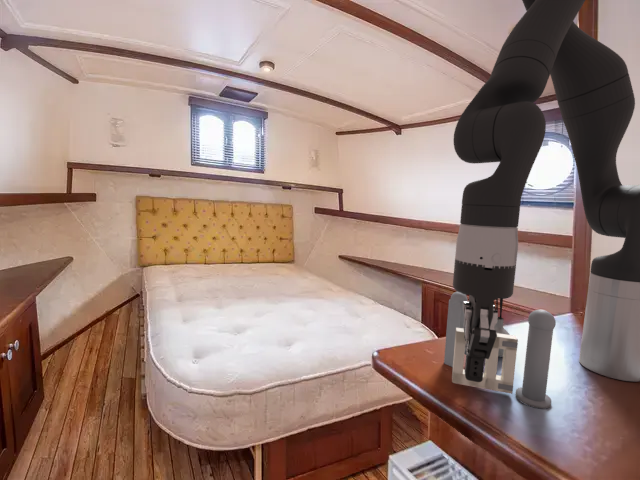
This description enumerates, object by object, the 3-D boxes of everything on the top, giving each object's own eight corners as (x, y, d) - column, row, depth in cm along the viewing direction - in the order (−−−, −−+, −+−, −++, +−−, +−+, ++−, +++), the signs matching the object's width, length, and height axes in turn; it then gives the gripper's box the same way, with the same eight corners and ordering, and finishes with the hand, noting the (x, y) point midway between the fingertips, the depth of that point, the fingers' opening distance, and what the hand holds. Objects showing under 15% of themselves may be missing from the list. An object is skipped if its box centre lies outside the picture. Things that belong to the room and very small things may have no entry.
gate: (509, 388, 53) (515, 335, 52) (512, 394, 51) (518, 339, 50) (451, 377, 56) (455, 327, 55) (452, 383, 54) (456, 331, 53)
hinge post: (523, 387, 55) (532, 303, 53) (556, 401, 51) (567, 311, 49) (509, 397, 52) (519, 308, 50) (543, 412, 48) (554, 317, 46)
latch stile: (454, 358, 64) (459, 288, 63) (482, 370, 60) (489, 295, 58) (442, 363, 62) (447, 290, 60) (471, 376, 58) (478, 298, 56)
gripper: (452, 250, 54) (443, 354, 56) (458, 264, 41) (446, 398, 43) (505, 254, 51) (494, 363, 53) (528, 270, 39) (512, 411, 41)
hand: (473, 378), depth 48 cm, fingers closed
